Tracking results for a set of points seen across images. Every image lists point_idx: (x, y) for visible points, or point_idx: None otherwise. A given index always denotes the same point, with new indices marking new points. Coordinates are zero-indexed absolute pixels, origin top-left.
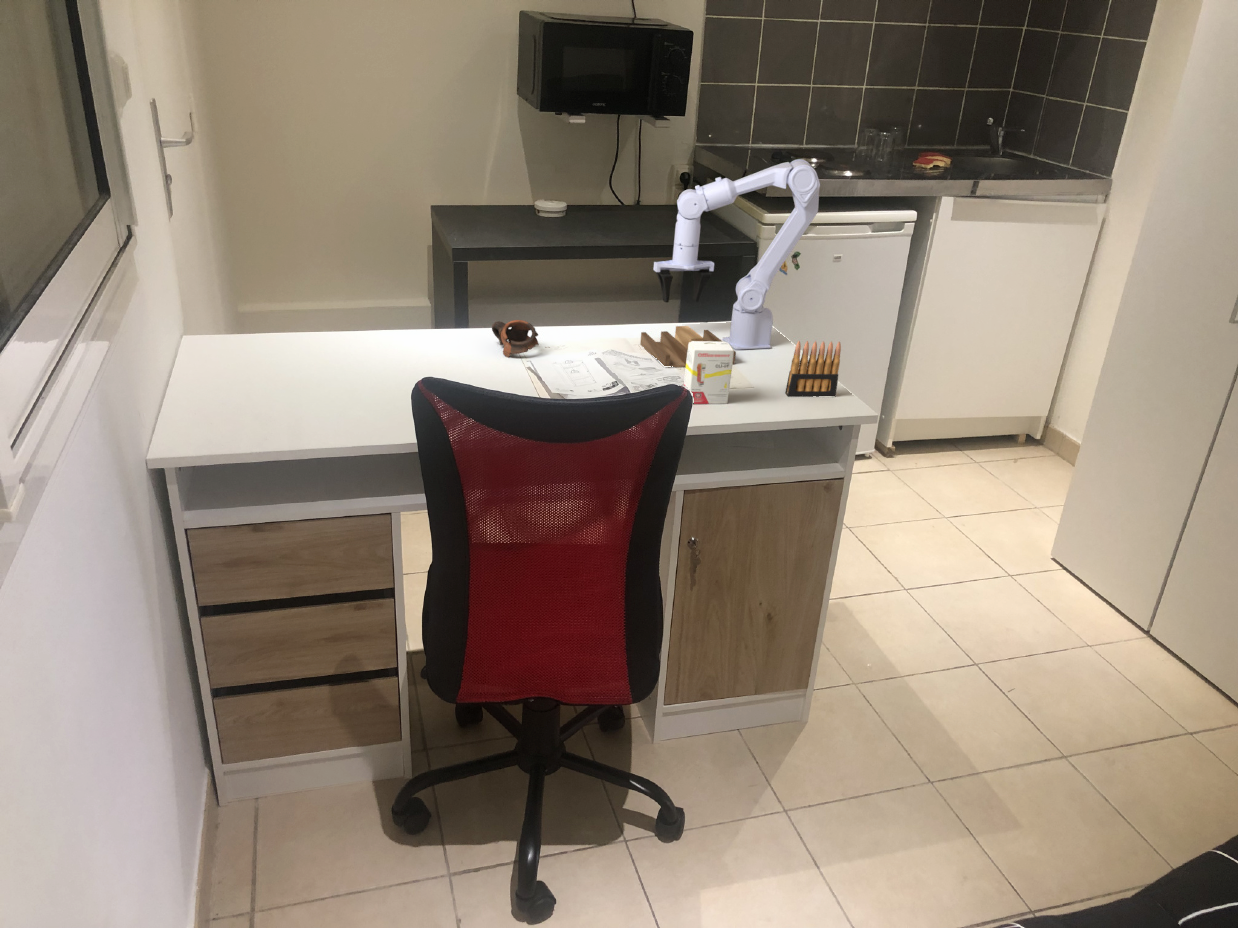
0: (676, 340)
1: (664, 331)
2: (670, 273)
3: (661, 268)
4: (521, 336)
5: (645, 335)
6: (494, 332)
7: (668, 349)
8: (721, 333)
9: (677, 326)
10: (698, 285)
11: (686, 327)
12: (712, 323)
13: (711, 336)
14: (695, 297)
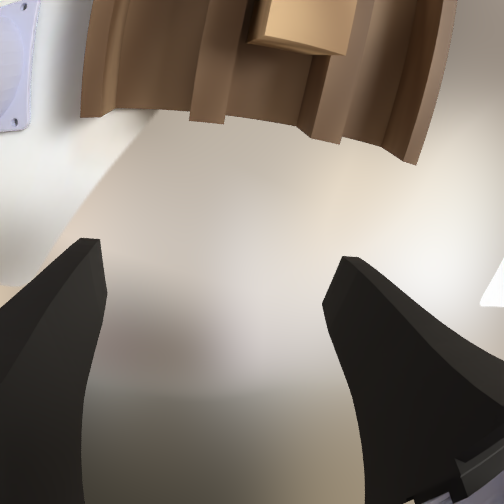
0: None
1: (324, 139)
2: (460, 471)
3: (498, 482)
4: None
5: (426, 126)
6: None
7: None
8: (14, 198)
9: (339, 48)
10: (43, 357)
11: (294, 11)
12: None
13: (111, 18)
14: (93, 272)
